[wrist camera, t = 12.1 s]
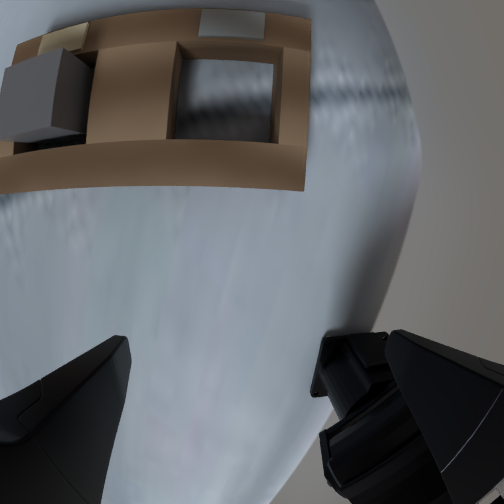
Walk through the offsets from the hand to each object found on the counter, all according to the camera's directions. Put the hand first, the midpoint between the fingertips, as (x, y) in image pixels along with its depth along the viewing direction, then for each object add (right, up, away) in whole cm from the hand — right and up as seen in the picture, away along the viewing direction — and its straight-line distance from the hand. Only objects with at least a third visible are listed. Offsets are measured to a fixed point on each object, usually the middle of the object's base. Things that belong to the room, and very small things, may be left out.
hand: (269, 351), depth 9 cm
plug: (-13, +13, +6) cm, 19 cm away
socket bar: (-8, +13, +7) cm, 16 cm away
